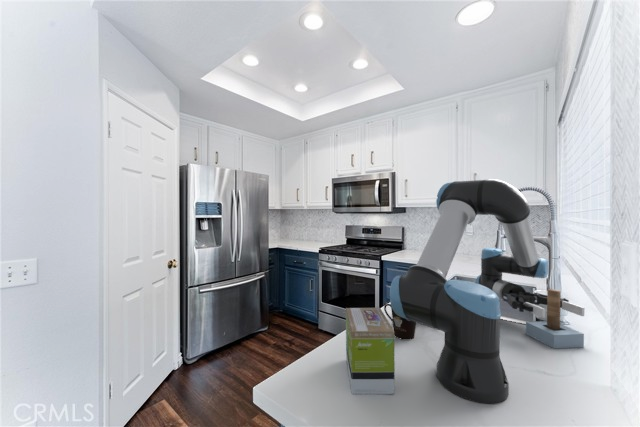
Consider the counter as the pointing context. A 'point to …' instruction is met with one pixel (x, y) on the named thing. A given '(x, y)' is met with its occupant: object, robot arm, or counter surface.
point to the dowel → (553, 309)
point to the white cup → (542, 305)
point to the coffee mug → (401, 325)
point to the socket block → (555, 335)
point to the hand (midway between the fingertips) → (563, 312)
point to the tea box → (370, 351)
